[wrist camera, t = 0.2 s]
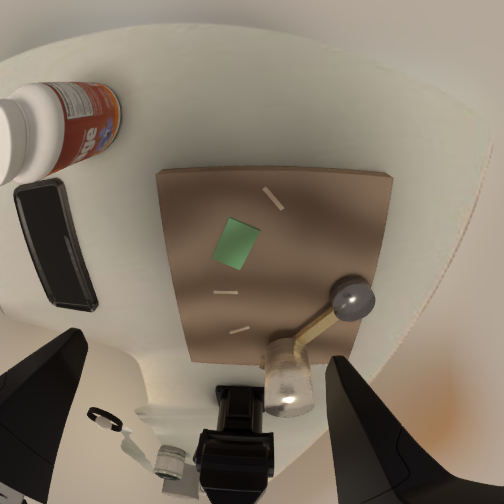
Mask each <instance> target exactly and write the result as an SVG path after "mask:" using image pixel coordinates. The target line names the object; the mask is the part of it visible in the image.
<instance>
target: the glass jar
mask: <svg viewBox="0 0 504 504" xmlns="http://www.w3.org/2000/svg"><path fill="white" fill-rule="evenodd" d="M184 462H185V452H184V451H183V450H181V449H178V448H175V447H172V446H161V448H160V449H159V452H158V455H157V460H156V464H155V469H154V472H155V474H156V475H158V476H159V477H161V478H164V479H168V480H173V481H176V480H180V479H181V478H182V473H183V467H184Z"/></svg>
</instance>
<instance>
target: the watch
mask: <svg viewBox="0 0 504 504" xmlns="http://www.w3.org/2000/svg"><path fill="white" fill-rule="evenodd" d="M93 413H96V414H98V415H101V416H100V417H97V416H95V415H94V414H93ZM87 416H88V417H89V418H90V419H91V420H93V421H94V422H96V424H97V426H98V427H99V428H101V429H103V430H108V429H110V430H113V431H117V432H120V431H121V430H122V425H123V423H122V421H120V419H118V418H117V417H116V416H114V415H113V414H111V413H109V412H107V411H104V410H102V409H99V408H95V407H91V408H90V409H89V411H88V413H87ZM109 420H110V421H113V422H114V423H116V424H117V425H118V426H117V425H114V424H112V423H111V422H110V421H109Z"/></svg>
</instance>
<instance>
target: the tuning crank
mask: <svg viewBox="0 0 504 504" xmlns="http://www.w3.org/2000/svg"><path fill="white" fill-rule="evenodd" d="M330 301H331V304H332V307H330V308H329V309H328V310H327V311H325V312H324V313H323V314H322V315H320V316H319V317H318V318H317V319H315V320H314V321H313V322H311V323H310V324H309V325H308V326H306V327H305V328H304V329H302V330H301V331H300V332H298V333H297V334H296V335H294V336H293V337H292V338H284V339H279V340H276V341H274V342H272V343H270V344H269V345H268V346H267V348H266V350H265V360H264V361H263V362H261V363H260V368H262V369H265V396H264V409H265V411H266V412H267V413H269V414H271V415H273V416H277V417H295V416H299V415H303V414H305V413H307V412H309V411H310V410H312V408H313V407H314V395H313V387H312V379H311V371H310V364H309V356H308V349H307V346H306V344H307V343H308V342H310V341H311V340H313V339H314V338H315V337H317V336H318V335H319V334H321V333H322V332H323V331H325V330H326V329H327V328H329V327H330V326H331V325H333V324H334V323H335V322H337V321H338V320H339V319H340V320H342V321H346V322H352V321H357V320H360V319H362V318H364V317H365V316H367V315H368V314H369V313H370V312H371V310H372V309H373V307H374V305H375V296H374V294H373V291H372V289H371V287H370V285H369V283H368V282H367V281H366V280H365V279H364V278H362V277H360V276H349V277H346V278H343V279H341V280H340V281H338V282H337V283H336V284H335V285H334V286H333V288H332V290H331V292H330Z"/></svg>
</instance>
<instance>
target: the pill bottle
mask: <svg viewBox="0 0 504 504" xmlns="http://www.w3.org/2000/svg"><path fill="white" fill-rule="evenodd" d="M119 124H120V105H119V102H118V100H117V98H116V96H115V94H114V93H113V92H112V91H111V90H110V89H109V88H108V87H106V86H104V85H102V84H99V83H88V82H45V83H30V84H26V85H23V86H21V87H19V88H18V89H16V90H15V91H14V92H12V93H11V94H10V95H9V97H8V98H7V99H1V100H0V186H2V185H4V184H6V183H8V182H10V181H12V180H13V181H15V182H18V183H25V184H26V183H33V182H35V181H38V180H40V179H42V178H44V177H46V176H49V175H51V174H53V173H55V172H57V171H59V170H61V169H63V168H66V167H68V166H70V165H73V164H75V163H77V162H80V161H82V160H84V159H87V158H89V157H92V156H94V155H96V154H98V153H100V152H102V151H103V150H105V149H106V148H107V147H108V146H109V145H110V144H111V142H112V141H113V139H114V137H115V136H116V133H117V131H118V128H119Z"/></svg>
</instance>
